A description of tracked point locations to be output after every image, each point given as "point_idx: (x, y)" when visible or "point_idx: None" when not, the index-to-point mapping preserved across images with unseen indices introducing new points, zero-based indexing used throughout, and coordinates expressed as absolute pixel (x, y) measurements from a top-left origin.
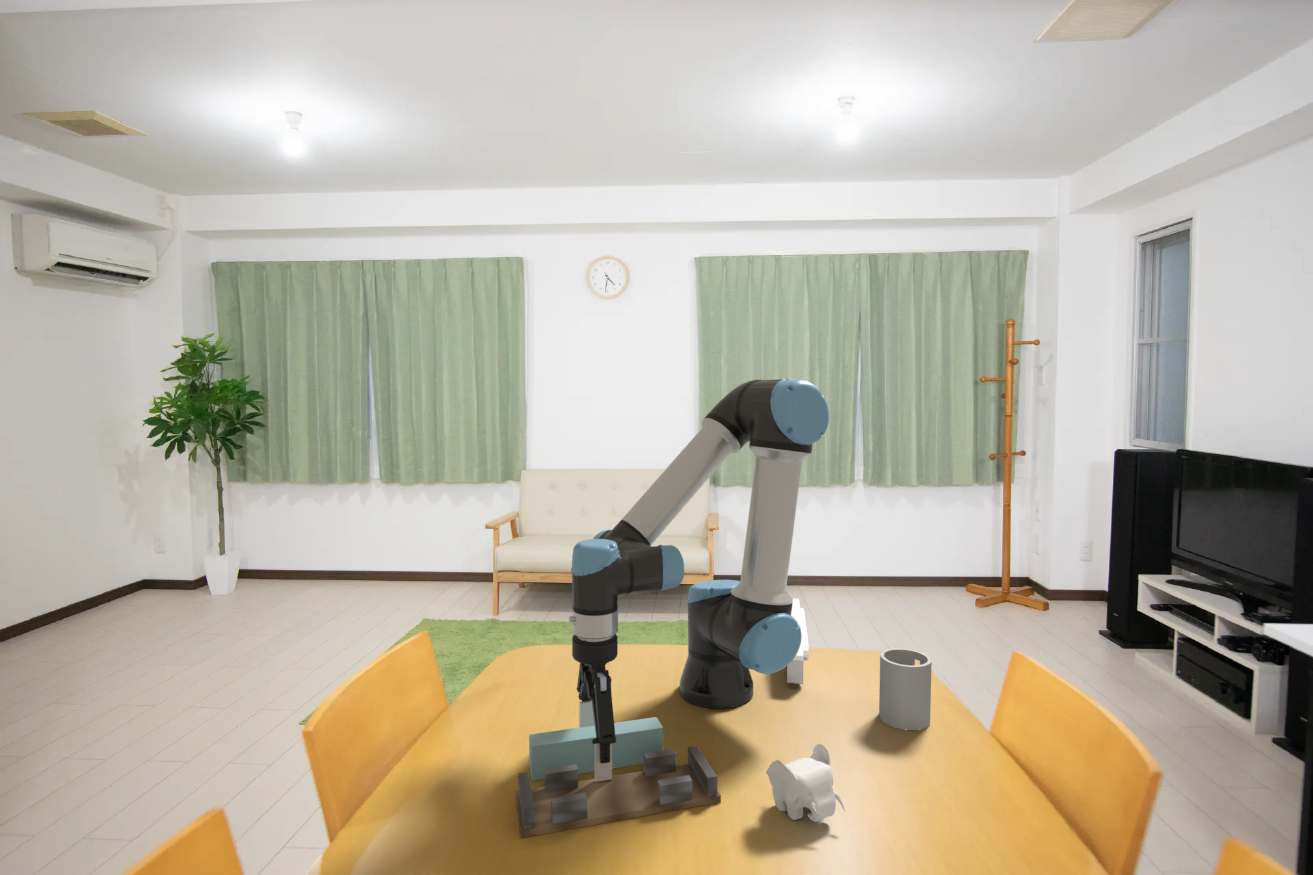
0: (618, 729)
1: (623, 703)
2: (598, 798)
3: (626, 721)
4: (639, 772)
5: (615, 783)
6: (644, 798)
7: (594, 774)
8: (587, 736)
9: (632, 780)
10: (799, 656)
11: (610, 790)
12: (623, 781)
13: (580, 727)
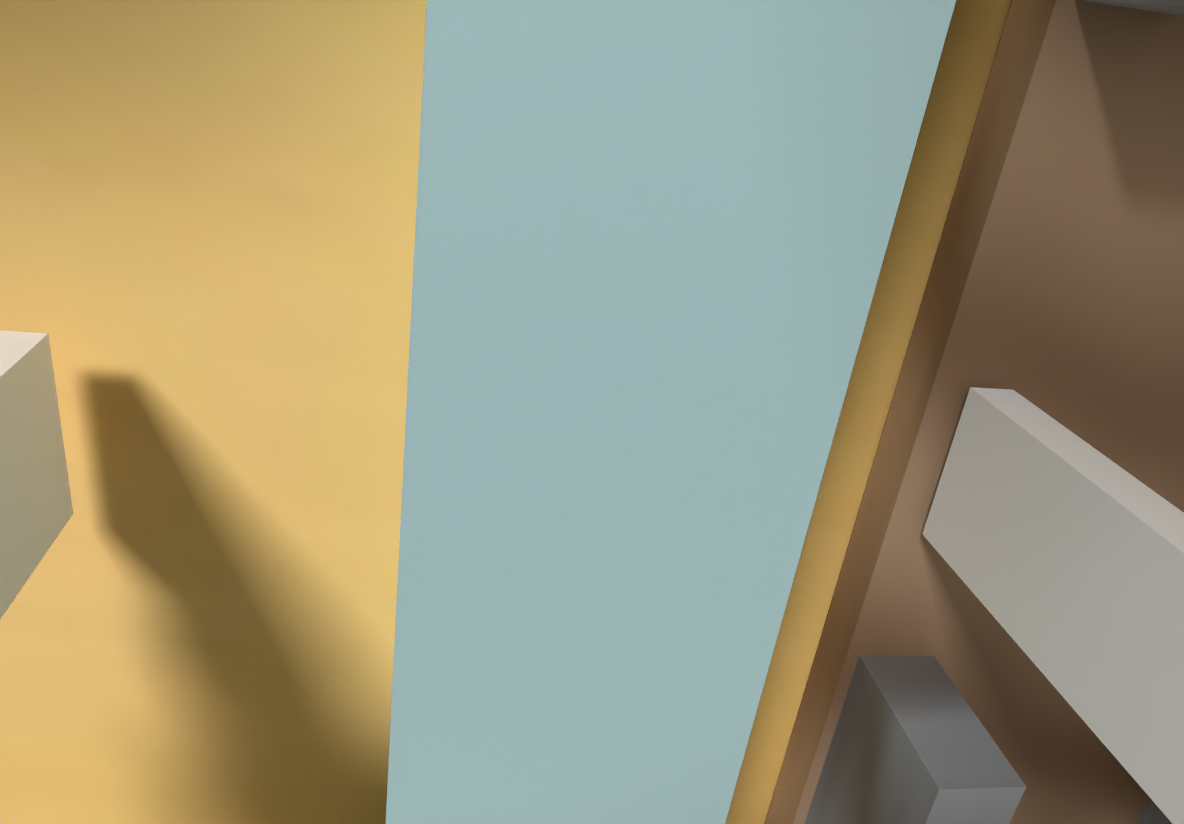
0: (712, 294)
1: None
2: None
3: (448, 12)
4: (1051, 59)
5: (1064, 368)
6: None
7: (946, 560)
8: (695, 754)
9: (1129, 195)
10: None
11: (1127, 437)
12: (1088, 289)
13: (388, 797)
